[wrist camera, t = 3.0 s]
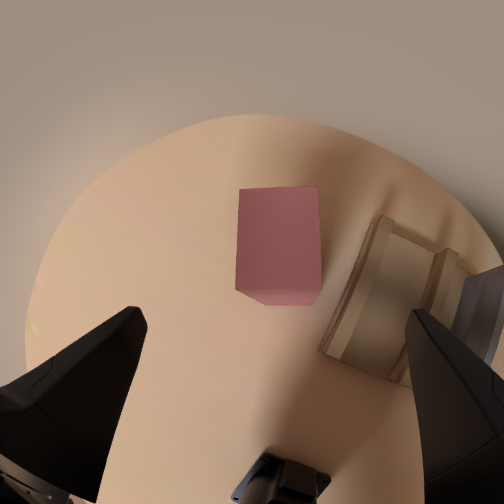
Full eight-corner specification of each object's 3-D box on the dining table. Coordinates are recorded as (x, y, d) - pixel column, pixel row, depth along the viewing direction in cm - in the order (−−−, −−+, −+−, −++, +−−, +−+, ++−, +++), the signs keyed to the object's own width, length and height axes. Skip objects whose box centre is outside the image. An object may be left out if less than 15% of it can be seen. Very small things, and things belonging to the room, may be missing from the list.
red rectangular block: (311, 304, 20) (322, 289, 11) (265, 305, 21) (235, 289, 11) (310, 246, 21) (317, 186, 12) (266, 247, 22) (239, 189, 12)
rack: (436, 396, 16) (480, 417, 10) (317, 349, 19) (325, 363, 13) (476, 281, 18) (525, 264, 11) (368, 227, 21) (393, 187, 14)
